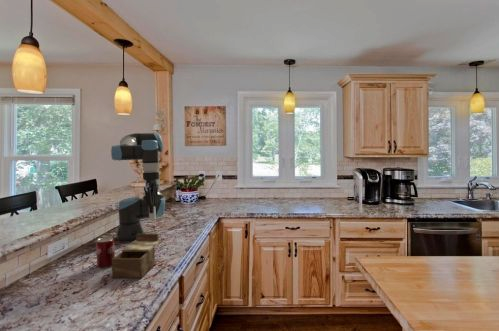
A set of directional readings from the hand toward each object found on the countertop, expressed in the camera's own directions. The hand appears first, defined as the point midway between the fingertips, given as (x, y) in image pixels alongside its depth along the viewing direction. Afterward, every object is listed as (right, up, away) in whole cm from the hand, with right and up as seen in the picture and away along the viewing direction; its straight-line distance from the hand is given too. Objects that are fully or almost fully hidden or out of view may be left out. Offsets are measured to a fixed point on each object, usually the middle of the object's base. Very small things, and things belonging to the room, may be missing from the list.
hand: (152, 219), depth 144 cm
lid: (-1, -10, -12) cm, 16 cm away
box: (-1, -19, -20) cm, 27 cm away
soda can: (-17, -19, -13) cm, 28 cm away
